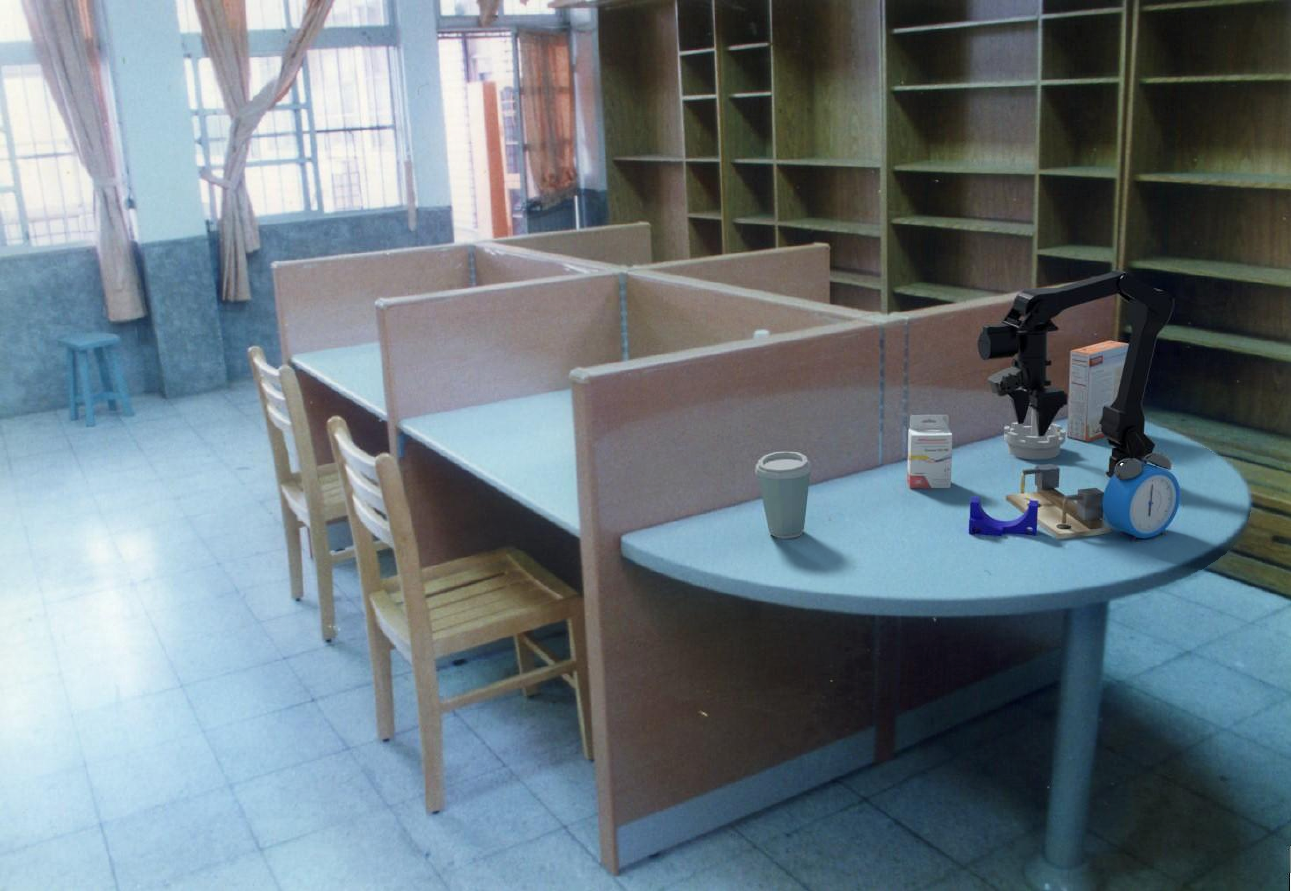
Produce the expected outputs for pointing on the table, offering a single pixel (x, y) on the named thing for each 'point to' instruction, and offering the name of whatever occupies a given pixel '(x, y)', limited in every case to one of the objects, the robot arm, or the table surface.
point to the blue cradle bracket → (992, 527)
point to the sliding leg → (1042, 476)
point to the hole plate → (1066, 511)
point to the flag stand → (1034, 440)
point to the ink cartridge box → (929, 452)
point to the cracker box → (1093, 386)
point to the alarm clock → (1142, 496)
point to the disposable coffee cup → (784, 491)
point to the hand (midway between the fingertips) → (1030, 429)
